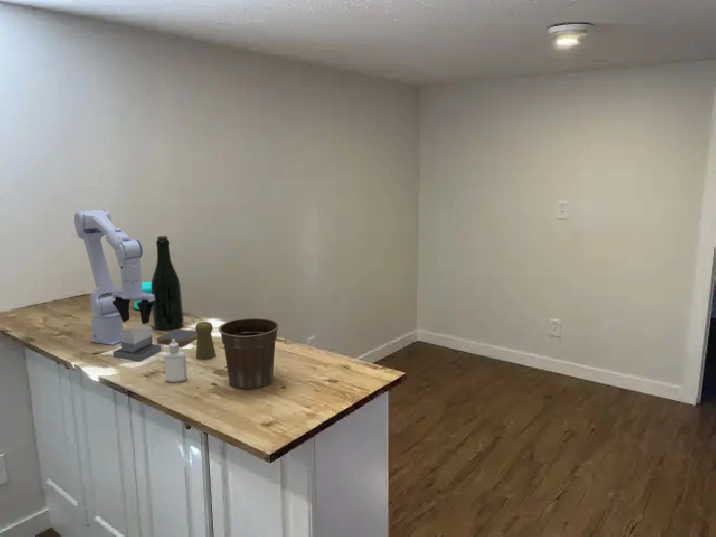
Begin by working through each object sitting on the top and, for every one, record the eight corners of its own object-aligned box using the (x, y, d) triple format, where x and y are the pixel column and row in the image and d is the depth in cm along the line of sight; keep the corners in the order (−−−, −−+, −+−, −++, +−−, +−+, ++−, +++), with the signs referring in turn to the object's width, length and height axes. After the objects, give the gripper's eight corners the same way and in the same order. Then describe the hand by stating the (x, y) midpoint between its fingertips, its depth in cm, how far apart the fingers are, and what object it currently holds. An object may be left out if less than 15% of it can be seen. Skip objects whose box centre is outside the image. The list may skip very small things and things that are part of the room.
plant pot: (230, 369, 167) (227, 316, 164) (284, 369, 167) (283, 317, 163) (214, 392, 151) (211, 335, 148) (274, 393, 151) (273, 336, 147)
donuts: (144, 280, 232) (164, 282, 228) (146, 303, 234) (165, 306, 230) (126, 285, 223) (147, 288, 219) (128, 310, 225) (149, 312, 221)
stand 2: (157, 343, 188) (156, 337, 188) (176, 333, 197) (176, 328, 197) (181, 347, 185) (181, 341, 184) (200, 337, 194) (200, 331, 193)
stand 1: (113, 357, 176) (113, 351, 175) (136, 346, 185) (136, 340, 184) (139, 361, 172) (139, 355, 172) (161, 350, 182) (161, 344, 181)
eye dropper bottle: (178, 384, 156) (175, 343, 154) (163, 380, 159) (160, 340, 156) (189, 378, 160) (186, 338, 158) (174, 375, 163) (171, 335, 160)
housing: (122, 351, 175) (120, 332, 174) (140, 342, 183) (138, 325, 181) (134, 353, 174) (133, 334, 172) (152, 344, 181) (151, 326, 180)
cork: (210, 360, 173) (208, 326, 171) (192, 359, 175) (189, 325, 172) (218, 353, 179) (217, 320, 177) (201, 352, 180) (199, 319, 178)
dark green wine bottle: (147, 327, 204) (140, 236, 197) (171, 320, 213) (165, 233, 205) (165, 332, 198) (158, 239, 191) (190, 325, 207) (184, 235, 200)
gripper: (103, 280, 172) (107, 323, 175) (141, 284, 167) (145, 328, 170) (119, 276, 179) (124, 317, 182) (157, 279, 174) (161, 321, 177)
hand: (135, 322), depth 176 cm, fingers open, 7 cm apart
